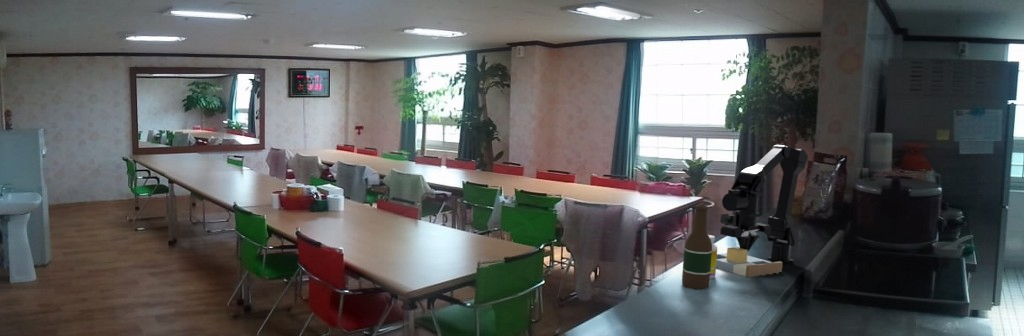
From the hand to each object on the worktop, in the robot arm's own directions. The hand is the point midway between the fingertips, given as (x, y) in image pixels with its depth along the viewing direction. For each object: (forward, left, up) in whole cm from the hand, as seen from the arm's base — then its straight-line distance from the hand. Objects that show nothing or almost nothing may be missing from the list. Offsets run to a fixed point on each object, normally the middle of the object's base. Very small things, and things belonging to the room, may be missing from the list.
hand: (743, 255), depth 220 cm
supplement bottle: (+22, +4, -4) cm, 23 cm away
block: (+4, 0, -1) cm, 4 cm away
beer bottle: (+33, +11, -4) cm, 35 cm away
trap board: (+1, 0, -4) cm, 4 cm away
